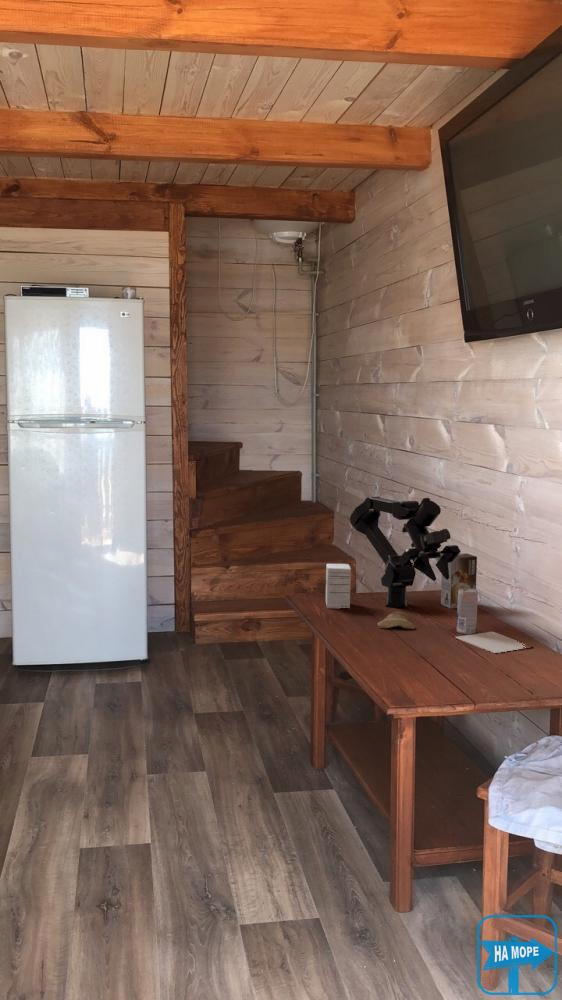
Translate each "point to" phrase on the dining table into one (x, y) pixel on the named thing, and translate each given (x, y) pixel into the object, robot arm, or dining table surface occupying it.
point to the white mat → (492, 642)
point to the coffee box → (458, 578)
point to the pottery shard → (396, 621)
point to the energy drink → (467, 611)
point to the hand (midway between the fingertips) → (441, 579)
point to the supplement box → (338, 585)
